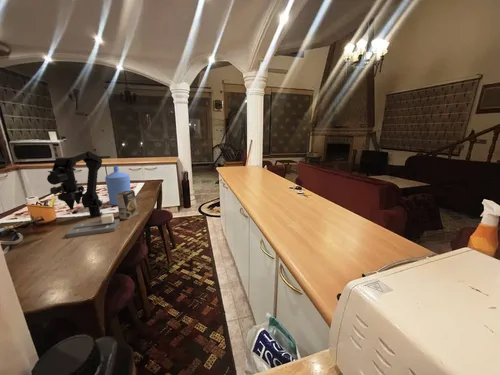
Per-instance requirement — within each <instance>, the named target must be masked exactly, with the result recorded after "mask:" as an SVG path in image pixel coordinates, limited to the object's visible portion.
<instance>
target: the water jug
mask: <svg viewBox="0 0 500 375" xmlns="http://www.w3.org/2000/svg"><path fill="white" fill-rule="evenodd" d="M104 178H105V183H106V188H107V194H108V198H109V199H108V200H109V204H110V205H111V206H118V204H117V198H116V194H119V193H121V192H124V191H132V189H131V181H130V180H131V178H130V174H128V173H126V172H122V171H120V170H119V165H113V172H111V173H109V174H108V175H105V177H104Z"/></svg>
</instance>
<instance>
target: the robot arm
mask: <svg viewBox="0 0 500 375" xmlns="http://www.w3.org/2000/svg"><path fill="white" fill-rule="evenodd" d="M81 161H82V162H84V163H85V167H87V170H88V171H87V180H86V182H87V183H86V190H85V187H84V186H83V185H77V184H78V180H76V176H75V171H76V170H77V169H76V168H74V167H75V166H76V165H77V163H78V162H81ZM102 164H103V158H101V157H100V156H99V155H97V154H95V153H93V152H92V151H89V150H81V151H79V152H77V153H75V154H71V155H69V156H60V157H55V160H54V164H53V167H52V170H50V171H49V174H48V175H47V178H46V180H47V181H48V183H49V184H51V185H58V186H53V187H50V188H49V189H50V190H49V191H50V194H53V195H54V196H56V195H57V194H58V195H57V200H59V201H62V202H64V203H65V204H66V205H67V207H68V208H69V209H70V210H74V207H75V203H76V205H79V204H80V203H81V204H82V206H83V208H85V209H87V208H88V209H87V210H88V213H89V215H88V217H87V218H89V219H91V218H97V217H102V215H103V212H102V211H101V210H100V208H101V207H102V206H103V201H102V200H100V198H99V195H98V193H97V185H98V172H99V170H100V169H101V168H102ZM59 184H60V185H59ZM84 190H85V192H84Z"/></svg>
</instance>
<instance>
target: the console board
mask: <svg viewBox="0 0 500 375" xmlns="http://www.w3.org/2000/svg"><path fill="white" fill-rule="evenodd" d="M119 225H120V218H114V221H113V223H110V224H107V223H105V224H102V220H98V221H89V222H81V223H75V224H74V225H73V226H72V227H71V229H69V230H68V232H67V233H66V234H65V235H66V238H73V237H81V236H89V235H94V234H104V233H110V232H115V231H116V230H117V228H118V226H119Z"/></svg>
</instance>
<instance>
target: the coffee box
mask: <svg viewBox="0 0 500 375" xmlns="http://www.w3.org/2000/svg"><path fill="white" fill-rule="evenodd" d="M116 198H117V204H118V205H117V211H118V216H119V220H120V219H121V220H129V219H131V218H133V217H134V216H135V217H136V216H137V215H138V207H137V206H138V205H137V199H136V193H135V190H131V191H124V192H121V193H119V194H116Z"/></svg>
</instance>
